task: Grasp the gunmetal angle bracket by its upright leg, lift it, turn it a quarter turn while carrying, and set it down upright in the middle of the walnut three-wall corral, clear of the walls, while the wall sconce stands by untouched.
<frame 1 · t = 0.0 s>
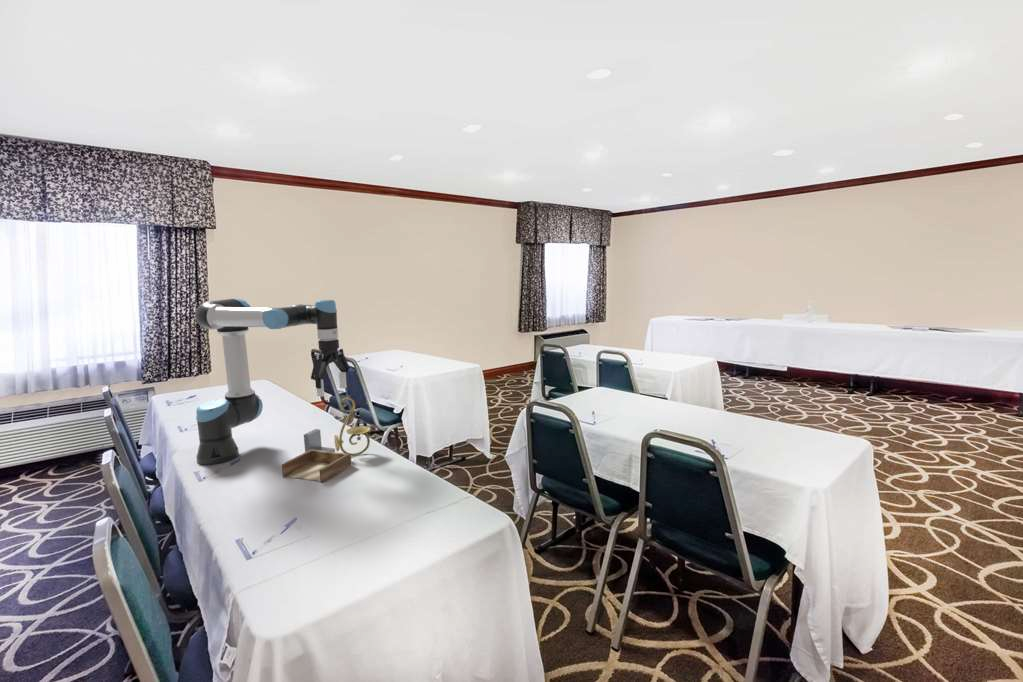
hand: (332, 391, 199), 28 cm above the table, fingers open, 13 cm apart
angle bracket: (320, 455, 207), on the table
corral: (316, 471, 191), on the table
wall sconce: (354, 456, 206), on the table
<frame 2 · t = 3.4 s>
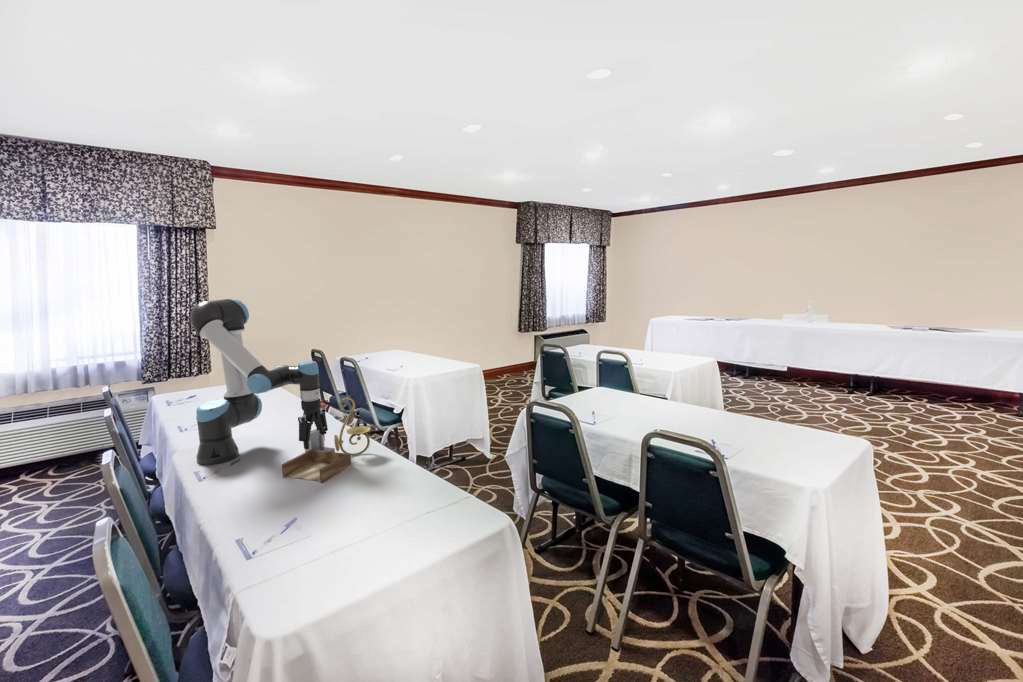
hand: (315, 452, 208), 1 cm above the table, fingers closed on angle bracket, 7 cm apart
angle bracket: (320, 455, 207), on the table, touching gripper
everything else where it was.
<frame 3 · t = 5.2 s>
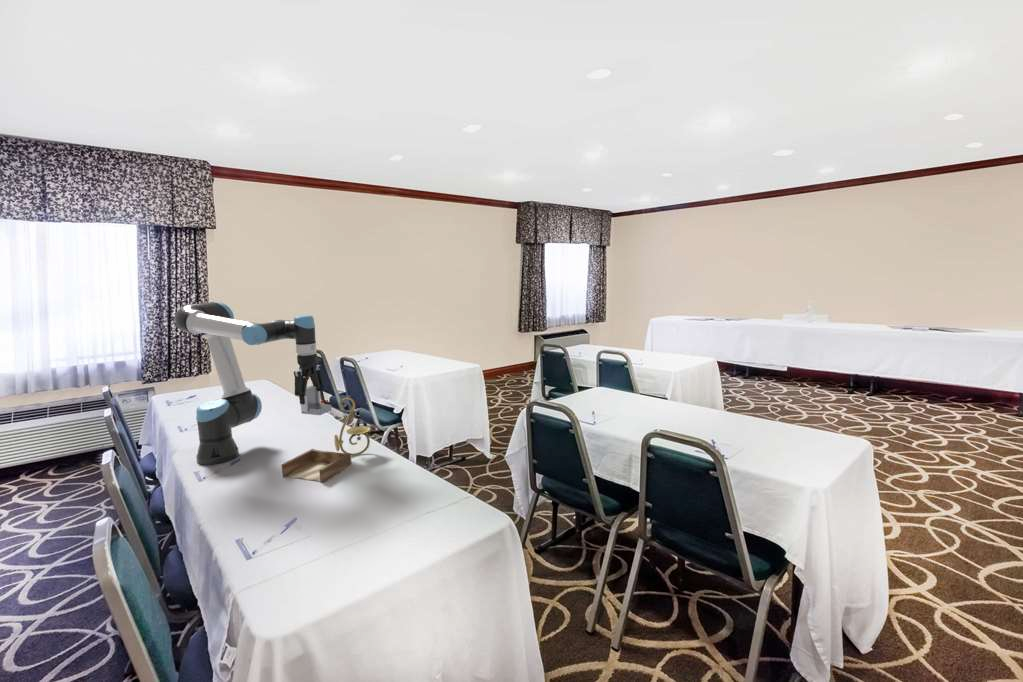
hand: (311, 408, 205), 20 cm above the table, fingers closed on angle bracket, 7 cm apart
angle bracket: (316, 411, 204), point 19 cm above the table, touching gripper
everything else where it was.
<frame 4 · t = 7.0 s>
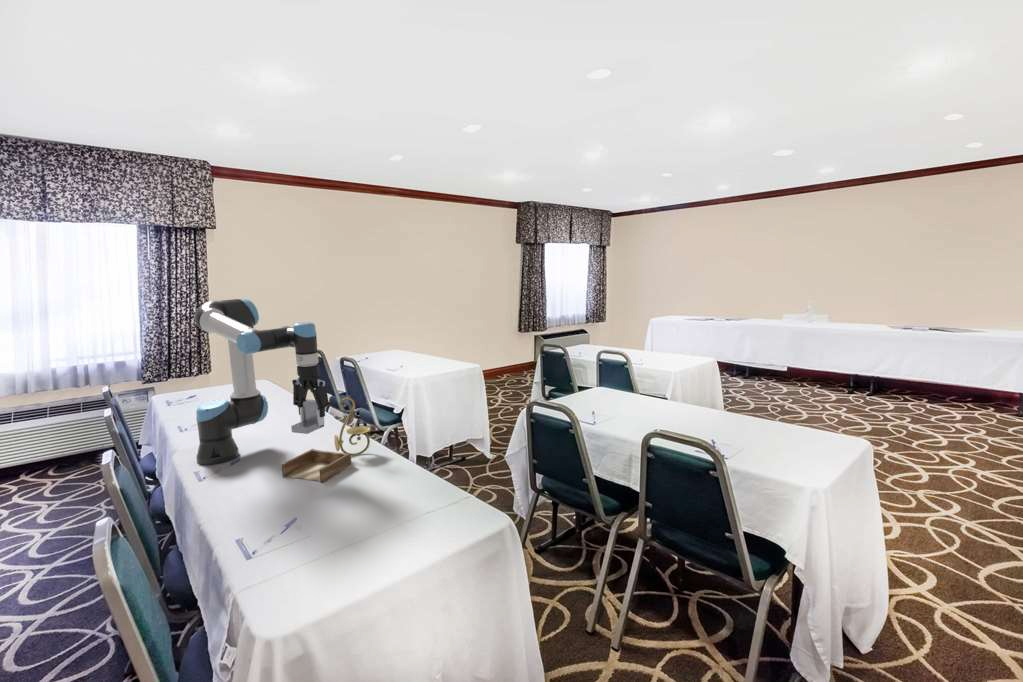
hand: (312, 424, 188), 19 cm above the table, fingers closed on angle bracket, 7 cm apart
angle bracket: (308, 429, 186), point 18 cm above the table, touching gripper
everything else where it was.
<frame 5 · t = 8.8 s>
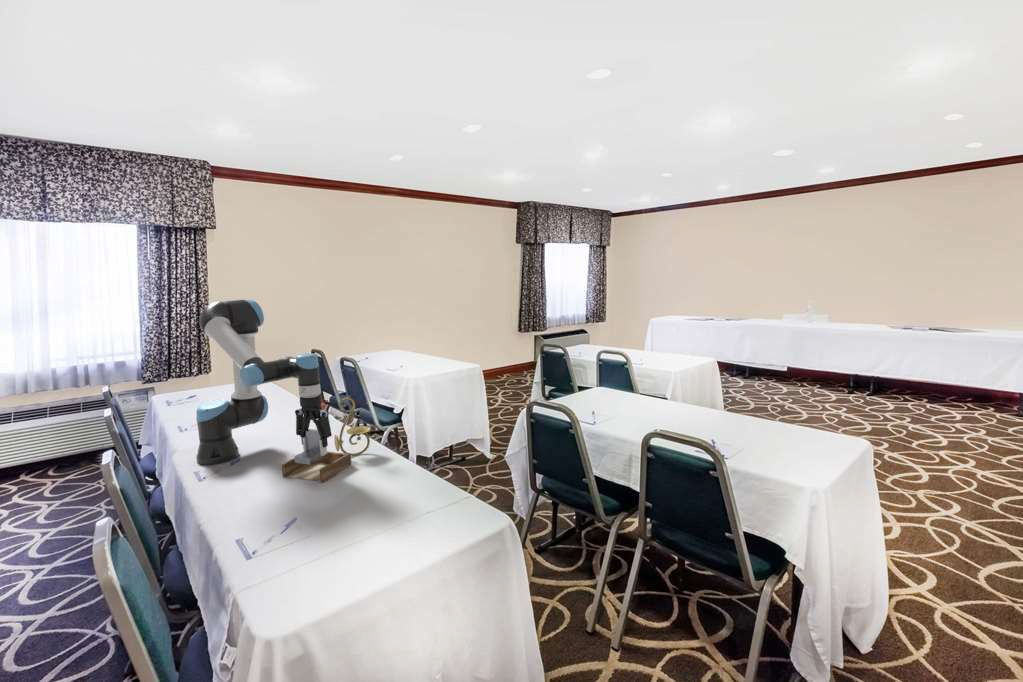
hand: (315, 453, 190), 7 cm above the table, fingers closed on angle bracket, 7 cm apart
angle bracket: (311, 459, 187), point 6 cm above the table, touching gripper
everything else where it was.
when the fingers open (2 cm above the table, at t = 10.6 s): angle bracket stays where it is, resting on corral.
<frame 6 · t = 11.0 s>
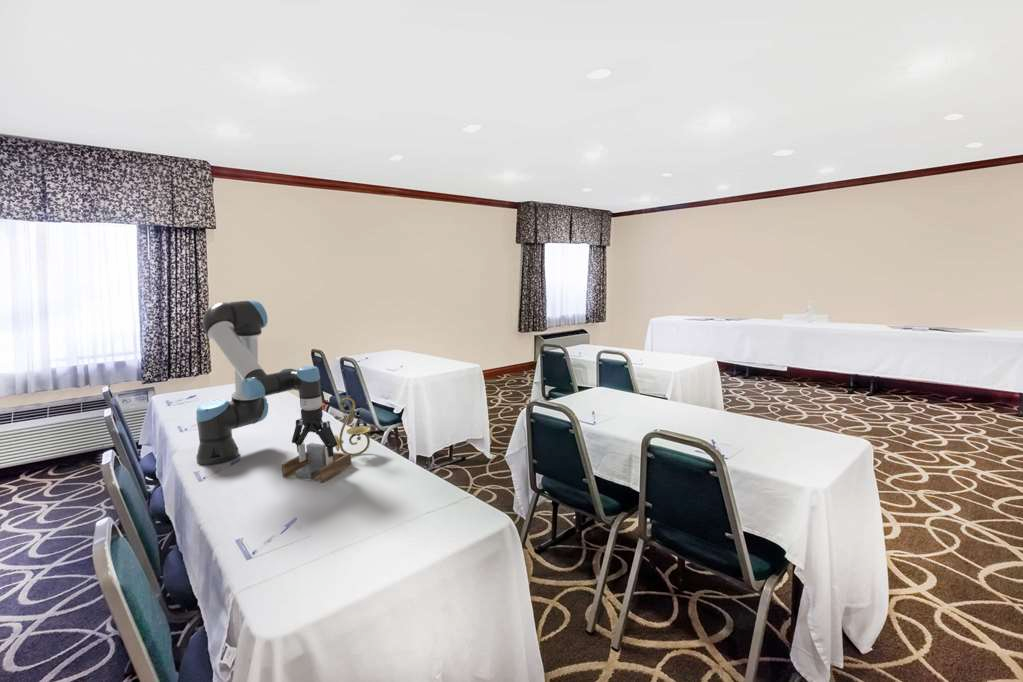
hand: (316, 462, 190), 4 cm above the table, fingers open, 12 cm apart
angle bracket: (312, 473, 188), resting on corral
everything else where it was.
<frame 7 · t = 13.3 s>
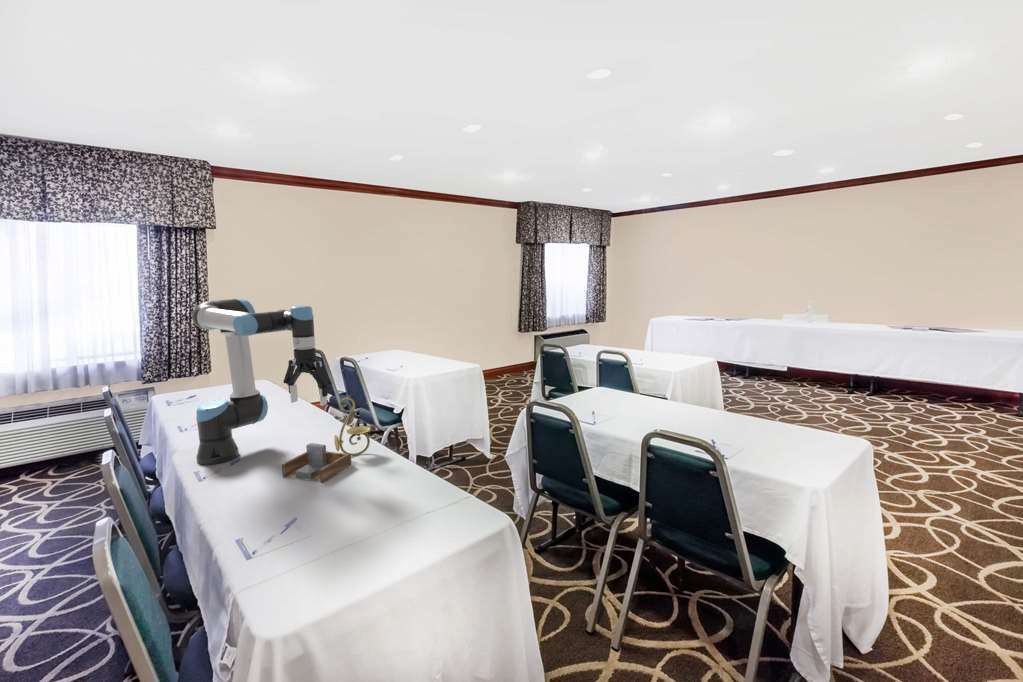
hand: (308, 403, 188), 27 cm above the table, fingers open, 13 cm apart
nothing on the table moved.
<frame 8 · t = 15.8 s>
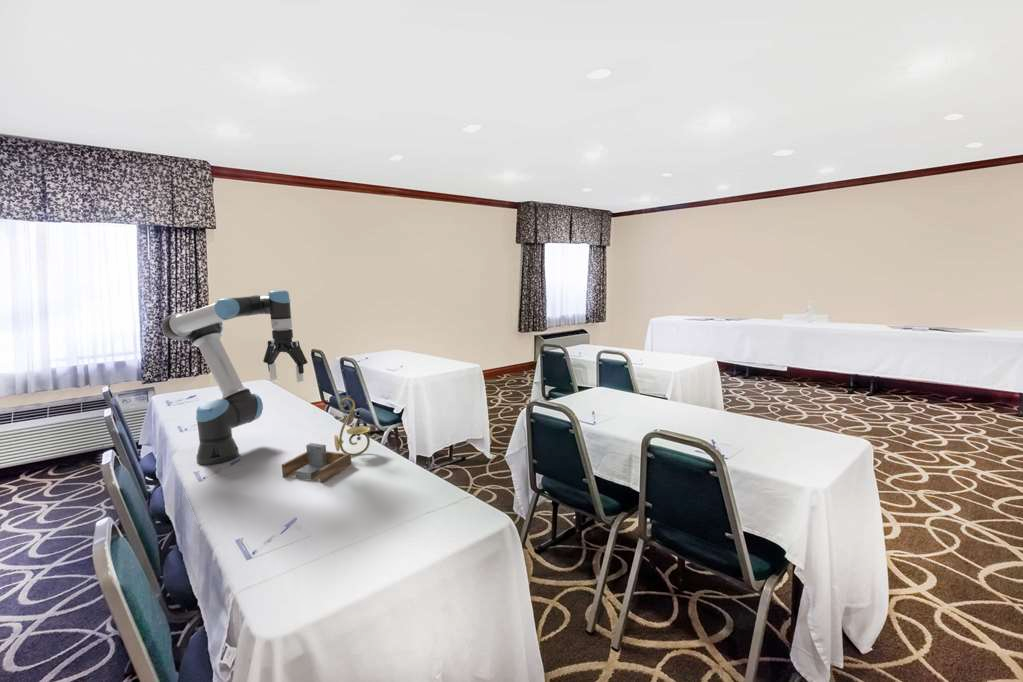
hand: (286, 380, 204), 32 cm above the table, fingers open, 13 cm apart
nothing on the table moved.
at the end: angle bracket inside the target area on the corral (2.5 cm from its centre), point 0.4 cm above the corral's base; angle bracket tilted 0°; the gripper is holding nothing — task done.
